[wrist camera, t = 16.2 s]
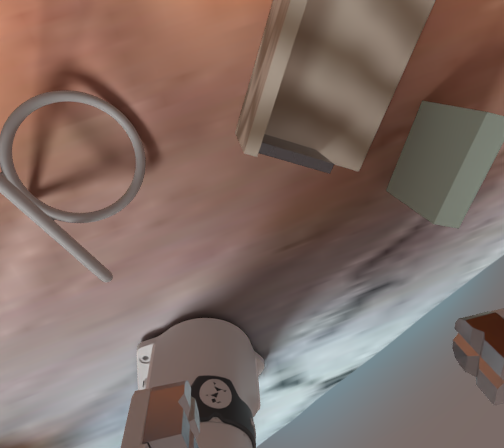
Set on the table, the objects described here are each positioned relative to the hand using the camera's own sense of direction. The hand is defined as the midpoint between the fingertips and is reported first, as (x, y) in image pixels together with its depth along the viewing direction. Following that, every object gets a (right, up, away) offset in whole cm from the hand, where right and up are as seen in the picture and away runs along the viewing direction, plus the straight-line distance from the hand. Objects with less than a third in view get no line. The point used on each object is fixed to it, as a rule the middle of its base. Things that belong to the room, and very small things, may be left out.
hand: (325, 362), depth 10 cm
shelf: (+6, +21, +25) cm, 34 cm away
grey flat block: (+17, +13, +31) cm, 38 cm away
